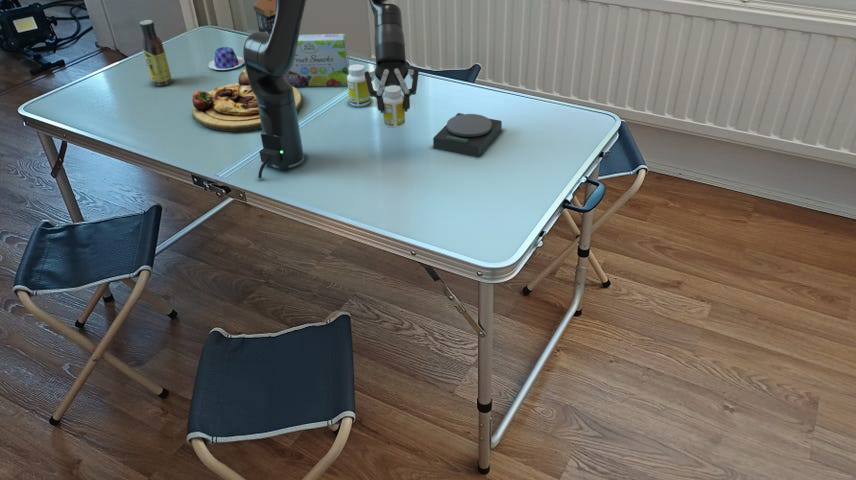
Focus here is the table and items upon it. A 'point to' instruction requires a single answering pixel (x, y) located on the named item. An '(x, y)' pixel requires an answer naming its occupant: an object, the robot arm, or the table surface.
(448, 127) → the kitchen scale
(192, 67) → the table surface
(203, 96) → the wooden plate
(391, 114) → the supplement bottle
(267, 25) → the whiskey bottle
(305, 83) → the snack box
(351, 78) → the pill bottle
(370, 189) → the table surface
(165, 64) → the sauce bottle
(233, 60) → the pudding
